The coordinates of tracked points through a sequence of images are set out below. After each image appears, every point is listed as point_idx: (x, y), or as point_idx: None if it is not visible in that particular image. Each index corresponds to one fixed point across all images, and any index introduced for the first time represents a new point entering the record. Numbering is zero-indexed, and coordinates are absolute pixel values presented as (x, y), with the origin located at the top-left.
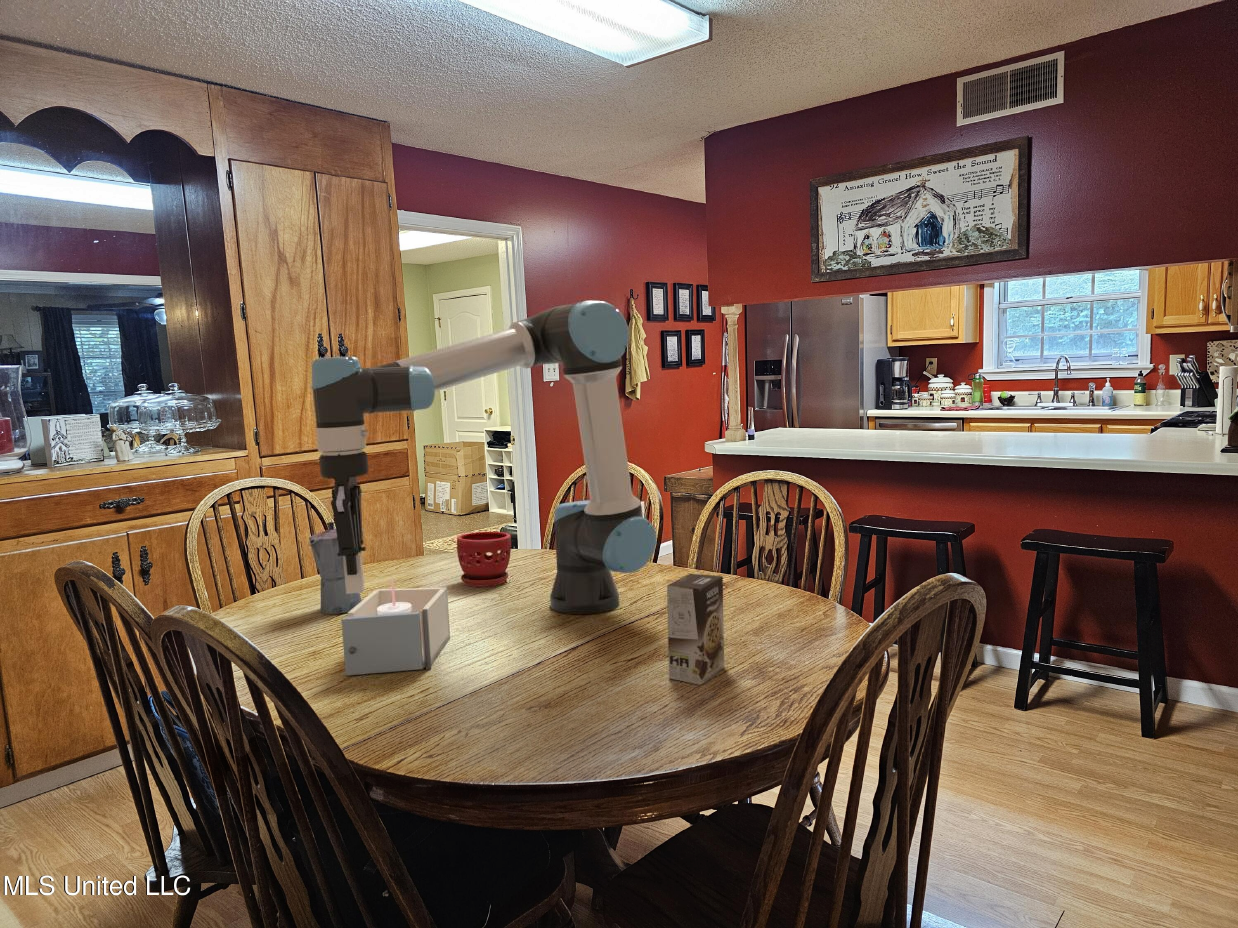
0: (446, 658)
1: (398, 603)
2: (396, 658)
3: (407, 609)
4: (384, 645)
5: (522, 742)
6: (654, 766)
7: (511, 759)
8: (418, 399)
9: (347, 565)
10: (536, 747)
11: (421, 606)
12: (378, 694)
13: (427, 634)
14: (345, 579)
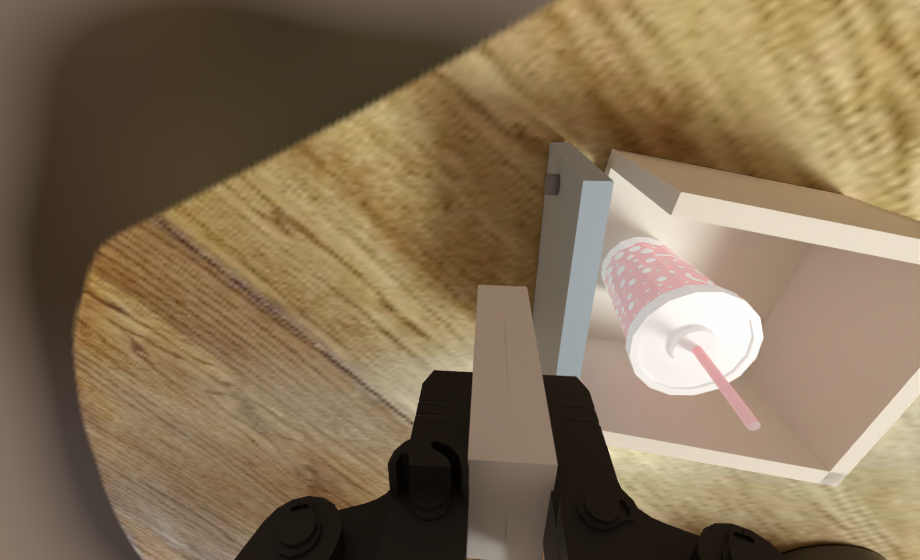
0: None
1: (743, 355)
2: (540, 285)
3: (646, 384)
4: (549, 276)
5: (194, 453)
6: (147, 550)
7: (143, 439)
8: None
9: (415, 427)
10: (181, 465)
11: (827, 374)
12: (408, 240)
13: None
14: (477, 329)
